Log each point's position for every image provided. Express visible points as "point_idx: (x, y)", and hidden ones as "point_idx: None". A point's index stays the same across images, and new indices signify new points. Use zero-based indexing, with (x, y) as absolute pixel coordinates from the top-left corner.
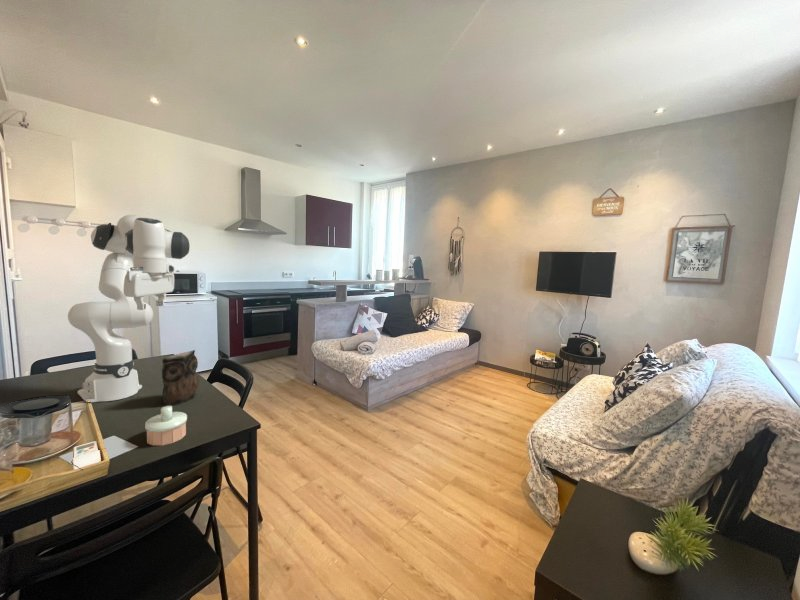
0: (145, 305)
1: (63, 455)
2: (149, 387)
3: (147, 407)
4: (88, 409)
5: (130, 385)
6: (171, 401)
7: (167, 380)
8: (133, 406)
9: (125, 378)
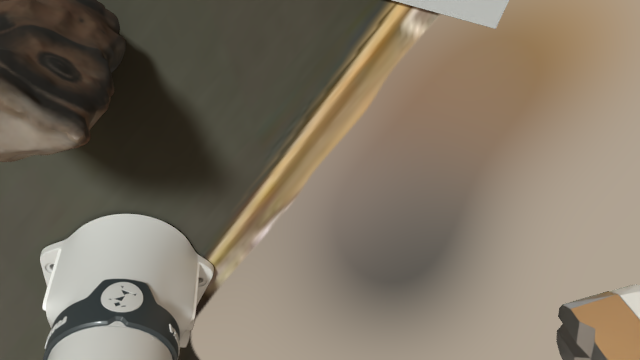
0: (613, 348)
1: (489, 22)
2: (26, 230)
3: (162, 86)
4: (244, 227)
5: (106, 246)
6: (102, 19)
7: (104, 59)
8: (176, 136)
9: (119, 272)
